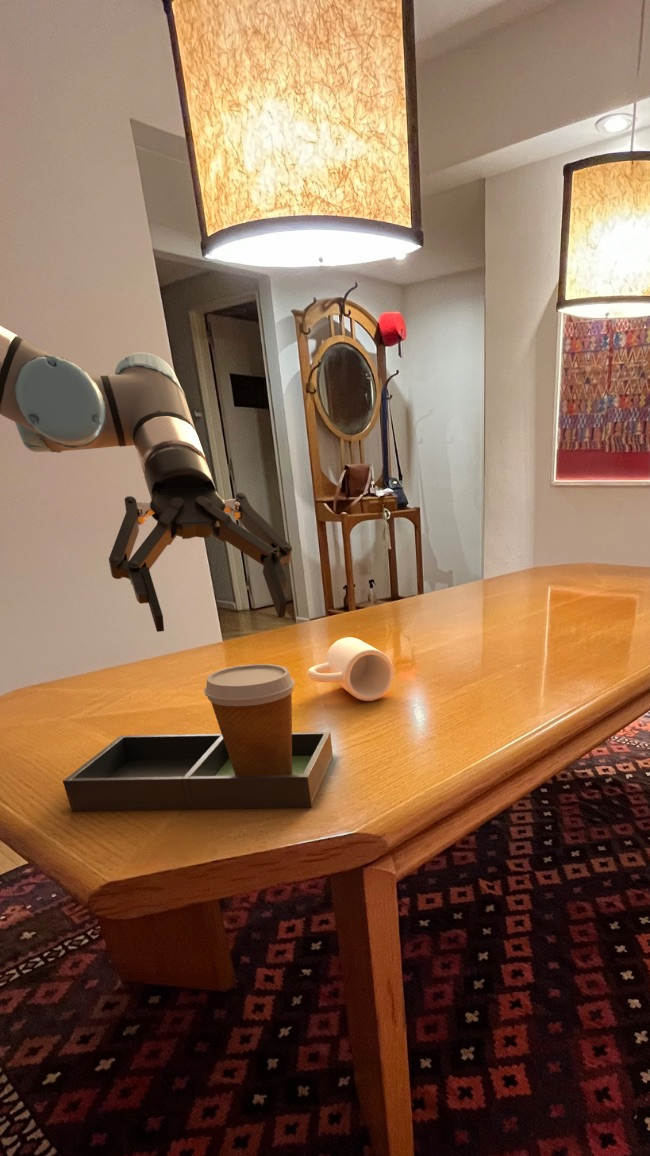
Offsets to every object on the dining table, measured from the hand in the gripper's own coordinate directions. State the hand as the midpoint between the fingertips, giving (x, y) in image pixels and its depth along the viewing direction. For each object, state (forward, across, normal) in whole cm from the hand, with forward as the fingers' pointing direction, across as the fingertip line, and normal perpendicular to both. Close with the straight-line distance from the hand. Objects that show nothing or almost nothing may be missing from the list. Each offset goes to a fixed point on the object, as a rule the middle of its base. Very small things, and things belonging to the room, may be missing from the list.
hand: (223, 617), depth 76 cm
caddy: (+16, +5, -9) cm, 19 cm away
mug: (-1, -21, -26) cm, 33 cm away
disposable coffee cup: (+17, 0, -7) cm, 19 cm away
